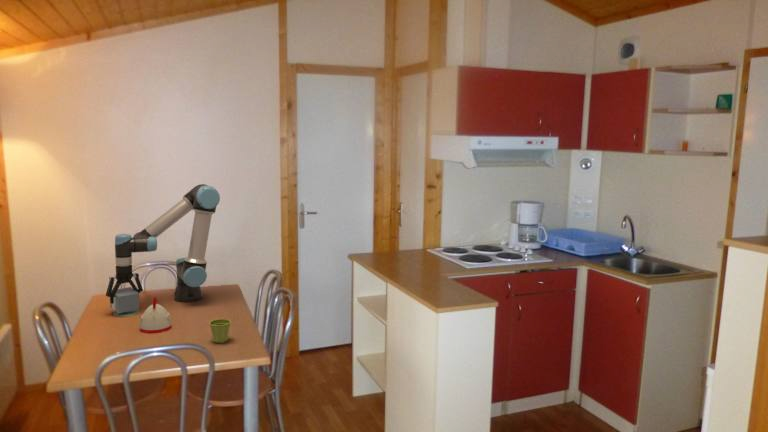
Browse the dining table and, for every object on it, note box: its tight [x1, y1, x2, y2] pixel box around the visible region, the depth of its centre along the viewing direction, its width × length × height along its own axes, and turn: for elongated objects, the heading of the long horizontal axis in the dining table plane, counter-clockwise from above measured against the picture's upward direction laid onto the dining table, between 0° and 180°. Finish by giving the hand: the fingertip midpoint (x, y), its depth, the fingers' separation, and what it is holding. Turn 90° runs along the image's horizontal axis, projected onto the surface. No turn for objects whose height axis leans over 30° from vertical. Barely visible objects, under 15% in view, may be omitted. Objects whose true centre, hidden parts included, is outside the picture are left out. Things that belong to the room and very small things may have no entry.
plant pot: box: [208, 318, 232, 344], centre depth 254 cm, size 9×9×9 cm
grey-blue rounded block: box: [109, 286, 140, 313], centre depth 290 cm, size 10×10×9 cm
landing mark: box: [112, 310, 140, 318], centre depth 291 cm, size 12×12×1 cm
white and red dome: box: [139, 297, 172, 334], centre depth 268 cm, size 14×14×15 cm
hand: (125, 307), depth 291 cm, fingers closed on grey-blue rounded block, 10 cm apart
